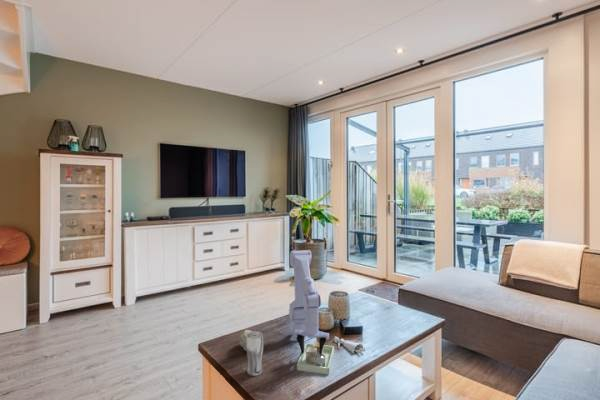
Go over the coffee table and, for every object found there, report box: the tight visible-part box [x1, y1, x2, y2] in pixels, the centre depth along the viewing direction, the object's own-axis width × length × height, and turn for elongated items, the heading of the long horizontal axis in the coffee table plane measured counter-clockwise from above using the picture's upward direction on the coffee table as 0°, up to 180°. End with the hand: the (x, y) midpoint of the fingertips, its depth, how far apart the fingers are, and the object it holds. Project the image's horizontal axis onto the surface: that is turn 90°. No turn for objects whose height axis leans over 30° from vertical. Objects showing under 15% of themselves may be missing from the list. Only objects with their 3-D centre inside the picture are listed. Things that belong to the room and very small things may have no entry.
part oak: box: [313, 341, 323, 354], centre depth 137 cm, size 4×4×5 cm
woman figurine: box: [333, 336, 366, 354], centre depth 145 cm, size 12×4×18 cm
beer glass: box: [245, 330, 264, 377], centre depth 126 cm, size 7×7×15 cm
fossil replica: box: [239, 329, 254, 352], centre depth 144 cm, size 12×8×10 cm
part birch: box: [306, 347, 317, 364], centre depth 132 cm, size 4×4×5 cm
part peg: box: [315, 354, 325, 367], centre depth 127 cm, size 4×4×5 cm
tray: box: [296, 342, 335, 376], centre depth 133 cm, size 18×13×3 cm
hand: (311, 353), depth 133 cm, fingers open, 7 cm apart
